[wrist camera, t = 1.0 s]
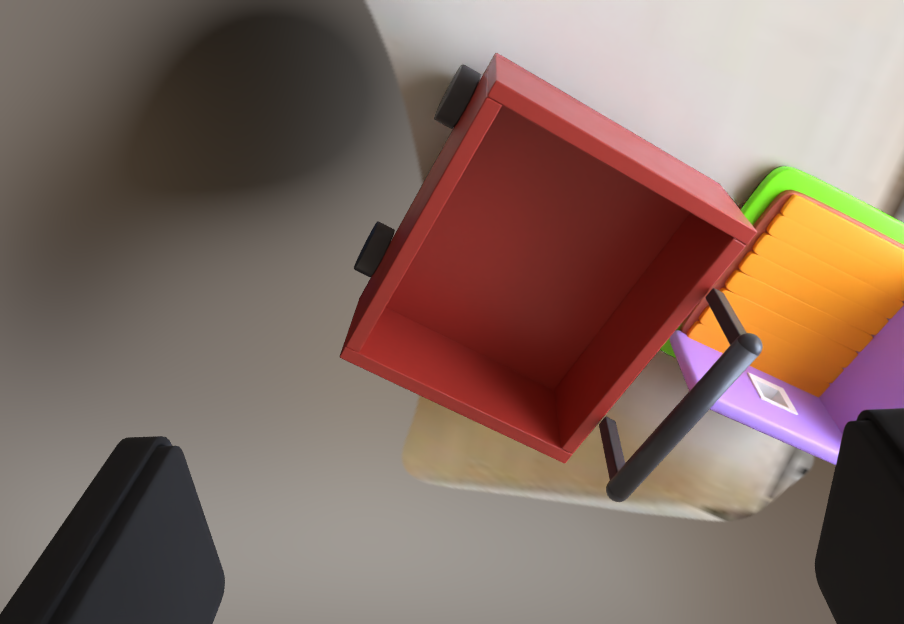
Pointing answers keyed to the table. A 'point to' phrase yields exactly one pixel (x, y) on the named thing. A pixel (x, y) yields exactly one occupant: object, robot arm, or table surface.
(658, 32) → the table surface
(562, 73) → the table surface
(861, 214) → the miniature room corner
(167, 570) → the robot arm
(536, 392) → the cart
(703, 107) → the table surface
